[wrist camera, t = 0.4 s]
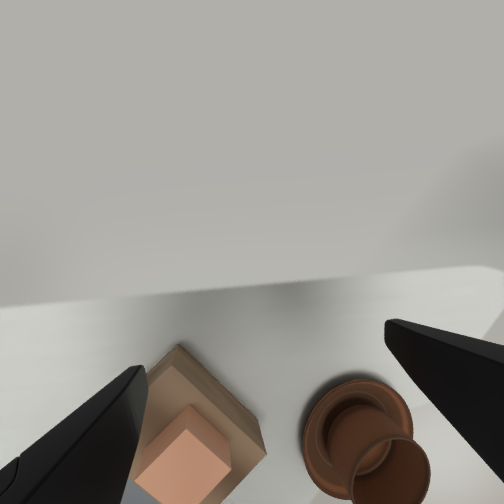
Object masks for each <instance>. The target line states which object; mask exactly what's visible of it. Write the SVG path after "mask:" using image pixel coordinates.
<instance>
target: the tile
mask: <svg viewBox="0 0 504 504" xmlns="http://www.w3.org/2000/svg"><path fill="white" fill-rule="evenodd" d="M230 471H231V459H230V449H229V441H228V440H227V439H226V438H225V437H224V436H223V435H222V434H221V433H220V432H219V431H217V430H216V429H215V428H214V427H213V426H212V425H211V424H210V423H209V422H208V421H207V420H205V419H204V418H203V417H202V416H201V415H200V414H199V413H198V412H197V411H196V410H195V409H194V408H192V407H191V406H190V405H188V406H187V407H186V408H185V409H184V410H183V411H182V412H181V413H180V414H179V415H178V416H177V417H176V418H175V419H174V420H173V421H172V422H171V423H170V424H169V425H168V426H167V427H166V428H165V429H164V430H163V431H162V432H161V433H160V434H159V435H158V436H157V437H156V438H155V439H154V440H153V441H152V442H151V443H150V444H149V445H148V446H147V447H146V448H145V449H144V452H143V455H142V458H141V461H140V464H139V468H138V471H137V474H136V477H135V480H134V481H135V482H136V483H137V484H138V485H140V486H141V487H142V488H143V489H145V490H146V491H147V492H148V493H149V494H151V495H152V496H153V497H154V498H156V499H157V500H158V501H159V502H160V503H162V504H199V503H200V502H201V501H202V500H203V499H204V498H205V497H206V496H207V495H208V494H209V493H210V492H211V491H212V490H213V489H214V487H215V486H216V485H217V484H218V483H219V482H220V481H221V480H222V479H223V478H224V477H225V476H226V475H227V474H228V473H229V472H230Z"/></svg>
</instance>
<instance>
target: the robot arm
mask: <svg viewBox="0 0 504 504" xmlns="http://www.w3.org/2000/svg"><path fill="white" fill-rule="evenodd" d="M384 340H385V344H386V346H387V347H388V349H389V350H390V351H391V353H392V354H393V355H394V357H395V358H396V359H397V361H398V362H399V363H400V365H401V366H402V367H403V369H404V370H405V371H406V373H407V374H408V375H409V377H410V378H411V379H412V380H413V382H414V383H415V384H416V385H417V386H418V388H419V389H420V390H421V391H422V392H423V393H424V394H425V395H426V396H427V398H428V399H429V400H430V401H431V402H432V403H433V404H434V405H435V406H436V408H437V409H438V410H439V411H440V412H441V413H442V414H443V416H445V418H446V419H447V420H448V421H449V422H450V423H451V424H452V426H453V427H454V428H455V429H456V430H457V431H458V432H459V433H460V435H461V436H462V437H463V438H464V439H465V440H466V441H467V442H468V443H469V445H470V446H471V447H472V448H473V449H474V450H475V451H476V452H477V454H478V455H479V456H480V457H481V458H482V459H483V460H484V461H485V463H486V464H487V465H488V466H489V467H490V468H491V469H492V470H493V471H494V473H495V474H496V475H497V476H498V477H499V478H500V479H501V480H502V482H503V483H504V345H500V344H496V343H492V342H488V341H484V340H480V339H476V338H472V337H468V336H464V335H460V334H456V333H452V332H448V331H444V330H440V329H436V328H432V327H428V326H424V325H420V324H416V323H412V322H408V321H405V320H401V319H390V320H387V321H386V322H385V327H384ZM148 391H149V387H148V381H147V377H146V373H145V369H144V366H143V365H136V366H131V367H129V368H128V369H126V370H125V371H124V372H123V373H121V374H120V375H119V376H118V377H116V378H115V379H114V380H113V381H111V382H110V383H109V384H108V385H106V386H105V387H104V388H103V389H101V390H100V391H99V392H98V393H96V394H95V395H94V396H92V397H91V398H90V399H89V400H87V401H86V402H85V403H84V404H82V405H81V406H80V407H79V408H77V409H76V410H75V411H74V412H72V413H71V414H70V415H69V416H67V417H66V418H65V419H64V420H62V421H61V422H60V423H59V424H57V425H56V426H55V427H54V428H52V429H51V430H50V431H49V432H47V433H46V434H45V435H44V436H42V437H41V438H40V439H39V440H37V441H36V442H35V443H34V444H32V445H31V446H30V447H29V448H27V449H26V450H25V451H24V452H22V453H21V454H20V457H16V458H15V459H13V460H12V461H11V462H10V463H8V464H7V465H6V466H5V467H3V468H2V469H1V470H0V504H121V501H122V497H123V494H124V490H125V487H126V484H127V480H128V477H129V473H130V470H131V467H132V463H133V460H134V457H135V453H136V450H137V446H138V442H139V438H140V434H141V429H142V423H143V418H144V413H145V408H146V402H147V397H148Z"/></svg>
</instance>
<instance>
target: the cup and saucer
mask: <svg viewBox="0 0 504 504" xmlns="http://www.w3.org/2000/svg"><path fill="white" fill-rule="evenodd" d="M303 456H304V462H305V465H306V469H307V471H308V474H309V476H310V477H311V479H312V481H313V482H314V483H315V484H316V486H317V487H318V488H319V489H321V490H322V491H323V492H325V493H326V494H328V495H330V496H332V497H335V498H338V499H343V500H351V501H352V503H353V504H421V503H422V501H423V500H424V498H425V496H426V493H427V491H428V488H429V483H430V476H431V473H430V464H429V460H428V458H427V455H426V453H425V452H424V450H423V449H422V448H421V447H420V446H419V445H418V444H417V443H416V442H415V441H414V440H413V422H412V417H411V413H410V410H409V408H408V406H407V404H406V402H405V401H404V399H403V398H402V397H401V396H400V395H399V394H398V393H397V392H396V391H395V390H394V389H392V388H391V387H389V386H387V385H385V384H383V383H381V382H378V381H374V380H368V379H360V380H353V381H349V382H346V383H343V384H341V385H339V386H337V387H335V388H334V389H332V390H331V391H330V392H328V393H327V394H326V395H325V396H324V397H323V398H322V399H321V400H320V401H319V402H318V403H317V405H316V406H315V408H314V409H313V411H312V412H311V414H310V416H309V418H308V421H307V423H306V426H305V430H304V434H303Z"/></svg>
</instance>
